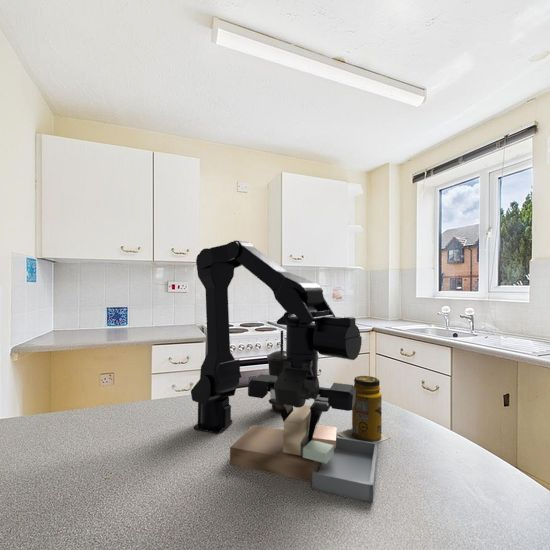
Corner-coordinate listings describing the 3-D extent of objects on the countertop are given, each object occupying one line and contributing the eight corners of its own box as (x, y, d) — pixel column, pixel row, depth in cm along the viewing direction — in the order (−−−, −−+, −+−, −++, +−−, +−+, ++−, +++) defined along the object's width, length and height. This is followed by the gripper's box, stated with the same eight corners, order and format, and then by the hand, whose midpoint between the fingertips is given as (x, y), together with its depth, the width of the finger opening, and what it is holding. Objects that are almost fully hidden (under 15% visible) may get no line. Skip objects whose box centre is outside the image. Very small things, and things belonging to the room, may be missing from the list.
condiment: (390, 438, 69) (390, 380, 70) (362, 448, 65) (362, 386, 65) (363, 425, 75) (363, 372, 76) (336, 434, 71) (336, 377, 71)
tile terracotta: (312, 445, 59) (312, 437, 59) (315, 431, 63) (315, 424, 63) (335, 448, 58) (335, 440, 58) (336, 434, 62) (336, 427, 62)
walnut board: (229, 464, 58) (230, 447, 59) (252, 439, 68) (253, 425, 68) (313, 482, 53) (313, 463, 53) (325, 453, 63) (325, 436, 63)
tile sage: (302, 457, 55) (303, 447, 55) (311, 448, 58) (311, 440, 58) (326, 463, 53) (326, 453, 53) (333, 454, 56) (333, 445, 56)
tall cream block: (283, 452, 56) (283, 421, 56) (298, 430, 64) (298, 404, 64) (302, 455, 54) (303, 425, 55) (315, 433, 63) (315, 406, 63)
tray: (312, 489, 51) (312, 473, 51) (329, 448, 64) (329, 435, 65) (372, 503, 48) (372, 485, 48) (377, 456, 61) (377, 443, 61)
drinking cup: (268, 403, 89) (269, 328, 90) (297, 405, 88) (297, 329, 89) (264, 414, 81) (264, 332, 82) (295, 416, 80) (295, 333, 81)
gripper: (234, 355, 56) (232, 450, 55) (348, 366, 49) (346, 474, 49) (260, 344, 66) (259, 424, 65) (356, 352, 60) (355, 441, 59)
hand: (300, 439), depth 59 cm, fingers closed on tall cream block, 3 cm apart
